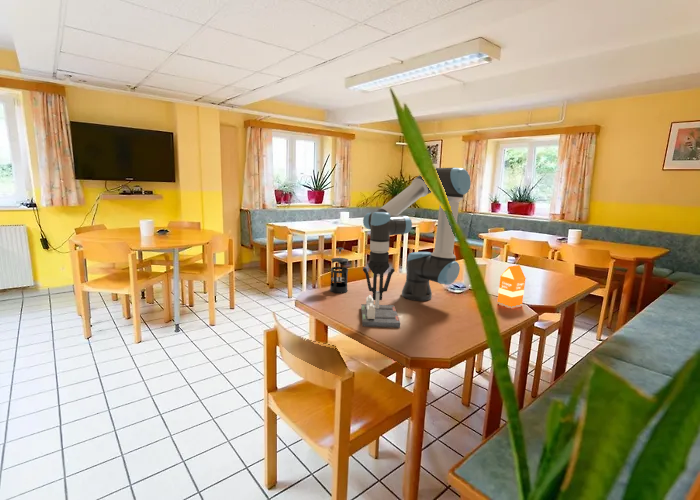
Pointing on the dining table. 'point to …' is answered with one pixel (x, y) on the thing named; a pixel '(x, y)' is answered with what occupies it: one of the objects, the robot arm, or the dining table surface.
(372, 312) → the handle
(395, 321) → the switch board
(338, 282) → the french press
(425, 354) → the dining table surface
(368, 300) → the on handle
